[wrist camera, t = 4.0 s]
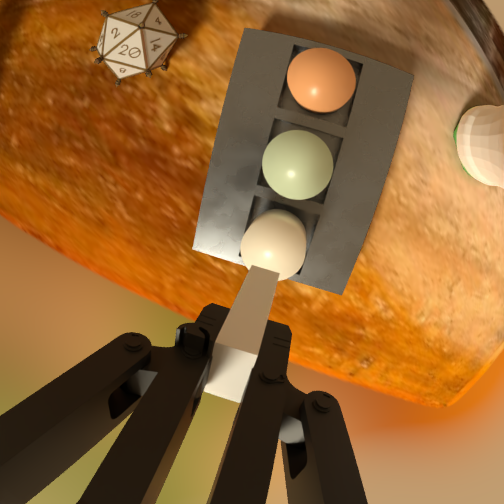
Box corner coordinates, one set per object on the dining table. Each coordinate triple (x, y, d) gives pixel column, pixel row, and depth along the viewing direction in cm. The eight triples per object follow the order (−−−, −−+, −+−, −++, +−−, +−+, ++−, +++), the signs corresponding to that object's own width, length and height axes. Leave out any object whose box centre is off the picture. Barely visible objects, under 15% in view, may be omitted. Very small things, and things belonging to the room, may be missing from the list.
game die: (185, 48, 28) (217, 19, 20) (137, 106, 28) (151, 93, 20) (126, 7, 23) (138, -35, 15) (74, 65, 23) (64, 37, 15)
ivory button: (243, 254, 27) (234, 270, 24) (256, 201, 25) (248, 211, 22) (296, 271, 26) (294, 288, 23) (314, 219, 24) (314, 230, 21)
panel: (206, 235, 31) (192, 249, 28) (253, 41, 24) (244, 27, 20) (338, 275, 30) (341, 295, 27) (400, 83, 22) (414, 75, 19)
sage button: (261, 181, 24) (254, 188, 21) (277, 123, 22) (272, 121, 19) (320, 199, 24) (321, 208, 21) (337, 141, 22) (341, 142, 19)
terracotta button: (283, 104, 22) (279, 100, 20) (298, 52, 21) (296, 40, 18) (342, 121, 22) (346, 119, 19) (356, 68, 20) (362, 59, 17)
